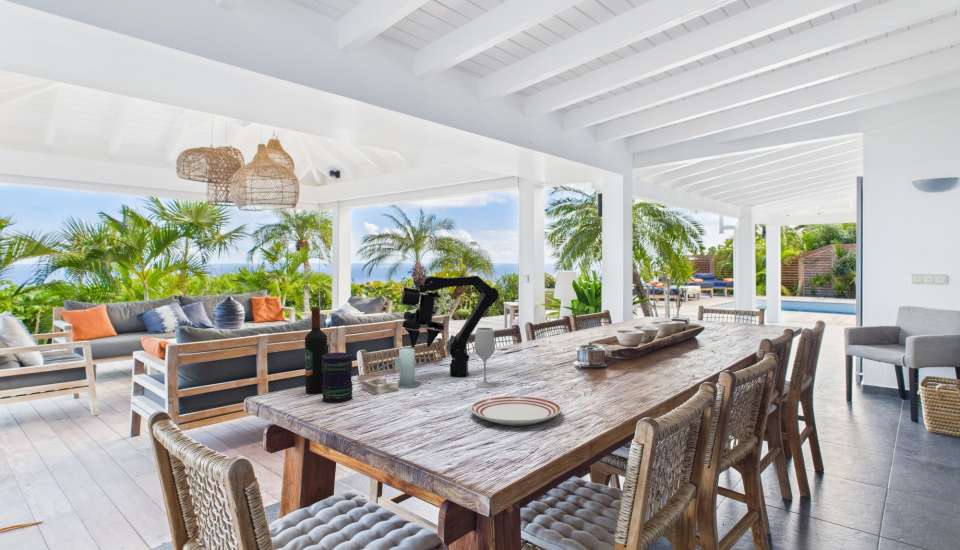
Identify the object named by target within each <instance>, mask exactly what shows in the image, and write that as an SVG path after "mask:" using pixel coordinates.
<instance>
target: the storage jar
mask: <svg viewBox="0 0 960 550" xmlns="http://www.w3.org/2000/svg"><path fill="white" fill-rule="evenodd" d="M352 357H353V354H352V353H350V352H331V353H330V352H329V353H327V354H324V355H322V359H323V360H322V373H323V384H322V402H323V403H325V402H326V403H325V404H341V403H342V402H343V403H347V401H348V402H350V401H352V400H353V385H354V384H353V381H352V371H353V360H352V359H353V358H352ZM351 399H352V400H351Z"/></svg>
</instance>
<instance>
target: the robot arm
mask: <svg viewBox="0 0 960 550" xmlns="http://www.w3.org/2000/svg"><path fill="white" fill-rule="evenodd" d="M468 286H473V288H474V289H475V291H477V292H478V293H479V296H478V299H477V303H476V305H475V306H474V308H473V310H471V311H472V312H471V313H470V314H469V316H468V318H467V320H466V321H465V323H464V324H463V326H462V327H461V329H460V330H459V332H458V333H457V334H456V335H455V336H454V335H453V334H452V335H451V336H450V337H449V339H448V341H447V342H446V346H445V350H446V353H447V354H448V355H450V358H451V360H450V361H451V362H450V364H449V374H450V375H449V376H450V377H460V378H461V377H463V378H466V377H468V376H469V374H470V372H469V360H470V355H469V354H468V353H466V348H467V345H468V341H469V338H470V337H471V335H472V333H473V331H474V330H475V329H476V327H477V325H478V323H479V322H480V321H481V319H482V318H483V316H484V314H485V312H486V311H487V310H488V309H489V308H490V307H492V306H493V305H494V304H495V303H496V301H497V300H498V298H499V296H500V294H499V291H498V290H497V288H494V287H491V286H490V285H489V284H488V283H487V282H485V281H484V280H483V279H482V278H481V277H480V276H478V275H469V276H454V277H441V276H432V275H426V276H425V277H423V279H422V280H421V284H420V285H419V286H417V288H409V287H403V290H402V292H401V296H400V305H403V306H409V307H410V306H411V307H416V306H417V305H419V306H418V308H416V310H415V312H413V313H412V312H411V311H410V310H409V311H408V310H407V311H404V315H403V319H404V321H403V322H402V328H404V330H405V331H406V332H407V333H408V335H409V340H410V346H411V347H410V348H415V346H416V344H417V342H418V341H417V340H418V338H419V336H420V332H421V330H420V329H421V328H423V329H424V328H425V329H426V332H427V339H426V340H427V341H426V346H427V348H430V347H431V346H432V344H433V343H434V341H435V339H436V338H437V337H438V335H439V334H440V333H441V332H442V331H444V329H445V325H444V323H443V322H440V321H436V320H435V321H433V316H434V315H436V311H435V310H434V308H435V301H436V298H438V299H441V295H440V294H439V293H438V291H439V290H442V289H445V288H450V287H451V288H453V287H454V288H455V287H456V288H457V287H468ZM424 293H425V294H424Z"/></svg>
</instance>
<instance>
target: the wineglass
mask: <svg viewBox="0 0 960 550" xmlns="http://www.w3.org/2000/svg"><path fill="white" fill-rule="evenodd" d="M494 333H495V332H494V329H493V328H491V327H479V328H478V327H477V328H476V331H475V336H474V352H475V354H477V356H478V357H479V359H481V360H482V361H483V380H482V381H480V382H476V383H475V385H476V386H475V387H477V386H478V388H493V387H494V386H495V383H493V382H490V381H489V382H488V381H487V380H488V379H487V371H486V370H487V360H488V359H490V357H491V358H492V355H493V354H494V353H495V349H496V341H495V334H494Z"/></svg>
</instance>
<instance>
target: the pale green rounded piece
mask: <svg viewBox="0 0 960 550" xmlns="http://www.w3.org/2000/svg"><path fill="white" fill-rule="evenodd" d="M398 352H399V353H398V356H399V357H394V370H395V371H399V378H398V379H399V380H398V381H399V382H400V385H403V386H410V385H414V384H415V381H416V380H415V371H416V370H415V347H402V348H399V350H398Z"/></svg>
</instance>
